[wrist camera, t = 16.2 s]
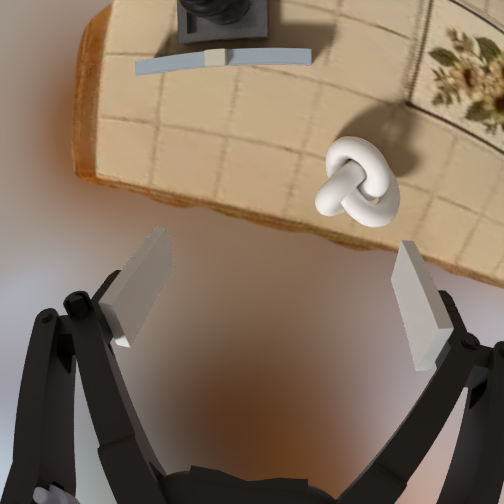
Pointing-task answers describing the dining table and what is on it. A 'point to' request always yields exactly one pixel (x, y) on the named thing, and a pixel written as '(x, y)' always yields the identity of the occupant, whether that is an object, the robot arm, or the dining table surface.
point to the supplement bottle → (216, 9)
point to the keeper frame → (224, 26)
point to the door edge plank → (225, 59)
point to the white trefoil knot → (358, 183)
